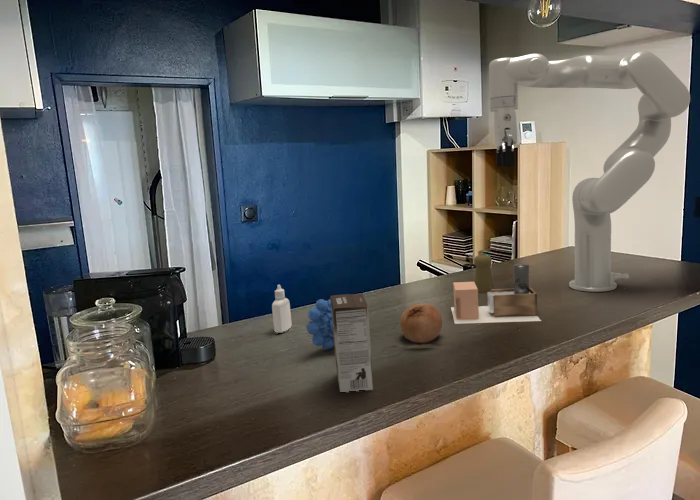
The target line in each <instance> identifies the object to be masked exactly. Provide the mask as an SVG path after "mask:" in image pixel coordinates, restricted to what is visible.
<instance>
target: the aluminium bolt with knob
mask: <svg viewBox="0 0 700 500" xmlns="http://www.w3.org/2000/svg"><path fill="white" fill-rule="evenodd" d="M512 267H513V270H512V271H513V289H514V291H500V292H487V293H486V294H487V306H488V309H489V311H490V313H495V310H494V295H507V294H531V293H530V292H529V288H530V265H529V264H527V263H515V264H513V265H512Z"/></svg>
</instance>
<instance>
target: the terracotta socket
mask: <svg viewBox="0 0 700 500" xmlns="http://www.w3.org/2000/svg"><path fill="white" fill-rule="evenodd" d="M452 287H453V288H452V289H453V307H454V311H455V315H456V319H457V320H465V319H479V309H478V306H479V294H478V289H477V287H476V284H475V281H460V282H459V281H457V282H455V281H454V282H453V283H452Z"/></svg>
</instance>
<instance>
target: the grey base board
mask: <svg viewBox="0 0 700 500" xmlns="http://www.w3.org/2000/svg"><path fill="white" fill-rule="evenodd" d="M450 309H451V313H452V317H453V322H454V324H456V325H457V324H459V325H460V324H487V323H488V324H489V323H490V324H491V323H493V324H494V323H521V322H542V319H540V317H539V316H538V315H537V316H516V317H495V316H494V314H493V313H490V311H489V309H488V305H482V306H481V305H480V306H479V305H478V309H479V319H465V320H457V319H456V315H455V311H454V306H451V307H450Z"/></svg>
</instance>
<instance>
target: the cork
mask: <svg viewBox="0 0 700 500" xmlns="http://www.w3.org/2000/svg"><path fill="white" fill-rule="evenodd" d="M492 263H493V259H492V257H491V256H490V255H486V254H479V255H476V256H475V257H474V259H473V264H474V266H475V274H474V275H475V276H474V282H475V284H476V287H477V289H478V295H479V294H481V295H482V294H487V292H491V289H495V288H494V282H493V275H492V270H491V266H492Z"/></svg>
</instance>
